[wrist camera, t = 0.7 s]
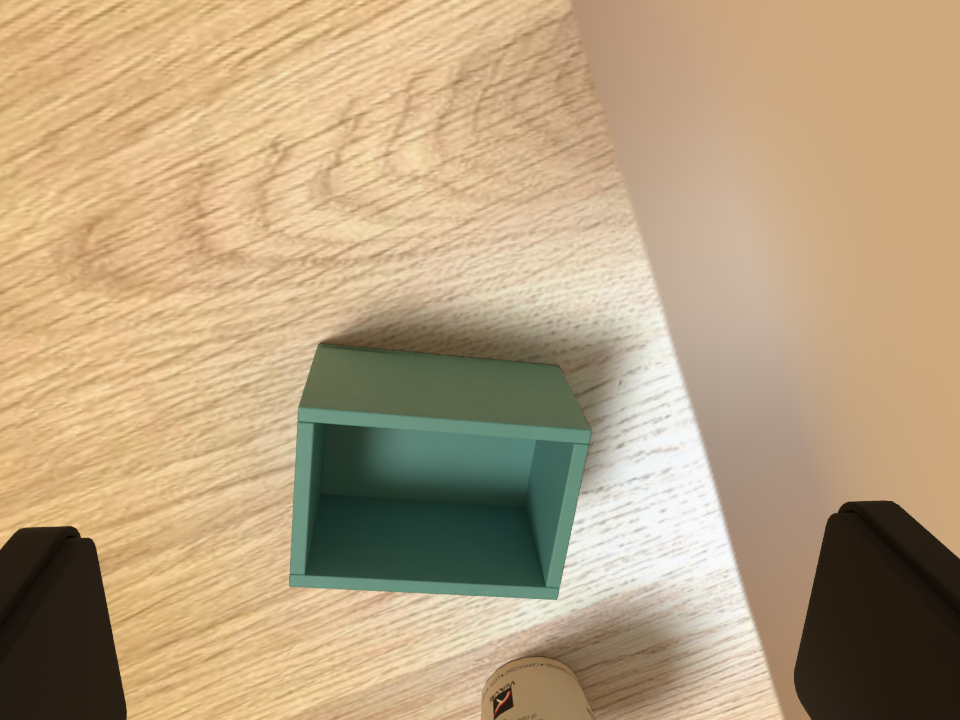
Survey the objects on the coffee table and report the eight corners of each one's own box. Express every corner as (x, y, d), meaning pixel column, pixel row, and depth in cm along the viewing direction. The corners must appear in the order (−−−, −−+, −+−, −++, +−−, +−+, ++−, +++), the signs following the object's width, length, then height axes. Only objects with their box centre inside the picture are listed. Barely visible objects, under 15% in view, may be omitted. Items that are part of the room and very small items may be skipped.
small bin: (318, 342, 27) (298, 407, 22) (559, 365, 28) (592, 430, 23) (309, 497, 30) (288, 587, 24) (532, 511, 31) (557, 600, 26)
